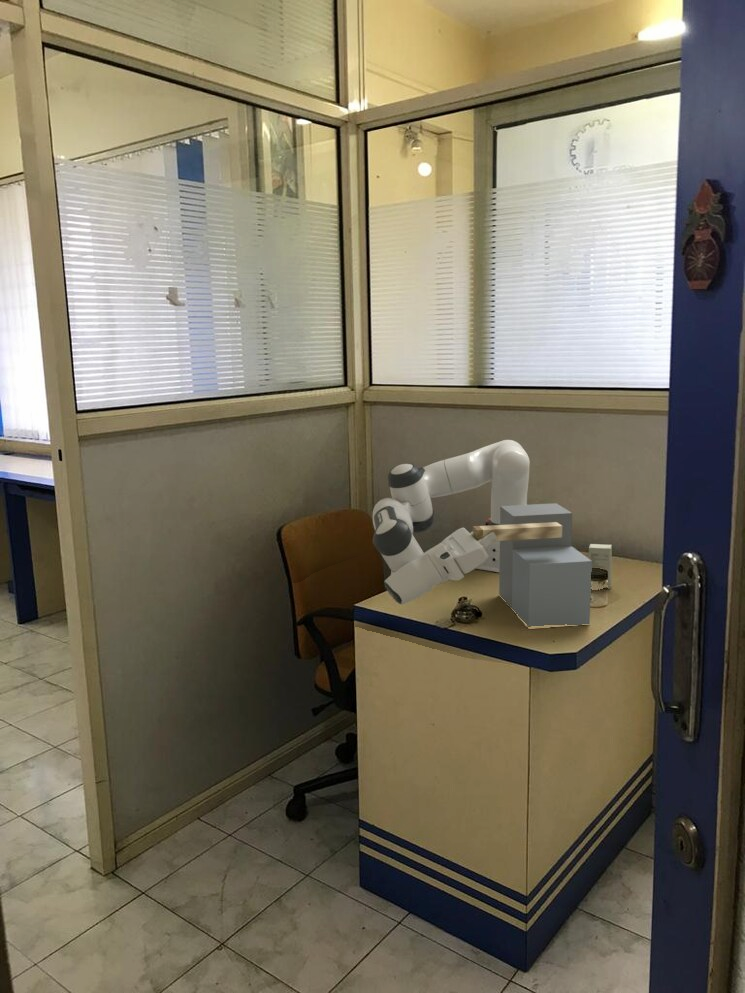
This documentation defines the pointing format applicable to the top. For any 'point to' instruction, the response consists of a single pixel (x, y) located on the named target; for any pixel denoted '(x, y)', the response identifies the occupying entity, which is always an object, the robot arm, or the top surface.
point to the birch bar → (519, 531)
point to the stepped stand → (544, 570)
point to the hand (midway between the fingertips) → (491, 531)
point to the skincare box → (601, 558)
